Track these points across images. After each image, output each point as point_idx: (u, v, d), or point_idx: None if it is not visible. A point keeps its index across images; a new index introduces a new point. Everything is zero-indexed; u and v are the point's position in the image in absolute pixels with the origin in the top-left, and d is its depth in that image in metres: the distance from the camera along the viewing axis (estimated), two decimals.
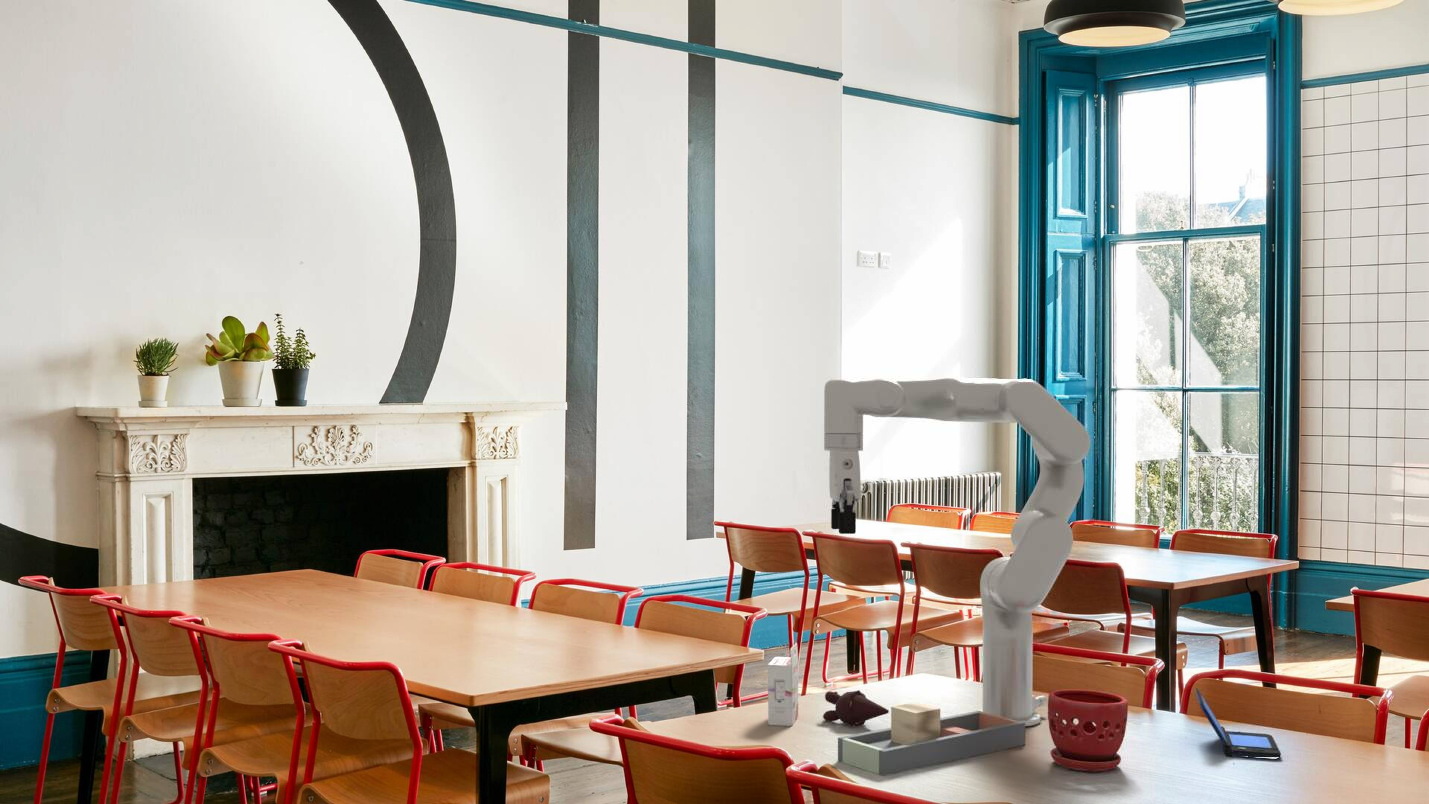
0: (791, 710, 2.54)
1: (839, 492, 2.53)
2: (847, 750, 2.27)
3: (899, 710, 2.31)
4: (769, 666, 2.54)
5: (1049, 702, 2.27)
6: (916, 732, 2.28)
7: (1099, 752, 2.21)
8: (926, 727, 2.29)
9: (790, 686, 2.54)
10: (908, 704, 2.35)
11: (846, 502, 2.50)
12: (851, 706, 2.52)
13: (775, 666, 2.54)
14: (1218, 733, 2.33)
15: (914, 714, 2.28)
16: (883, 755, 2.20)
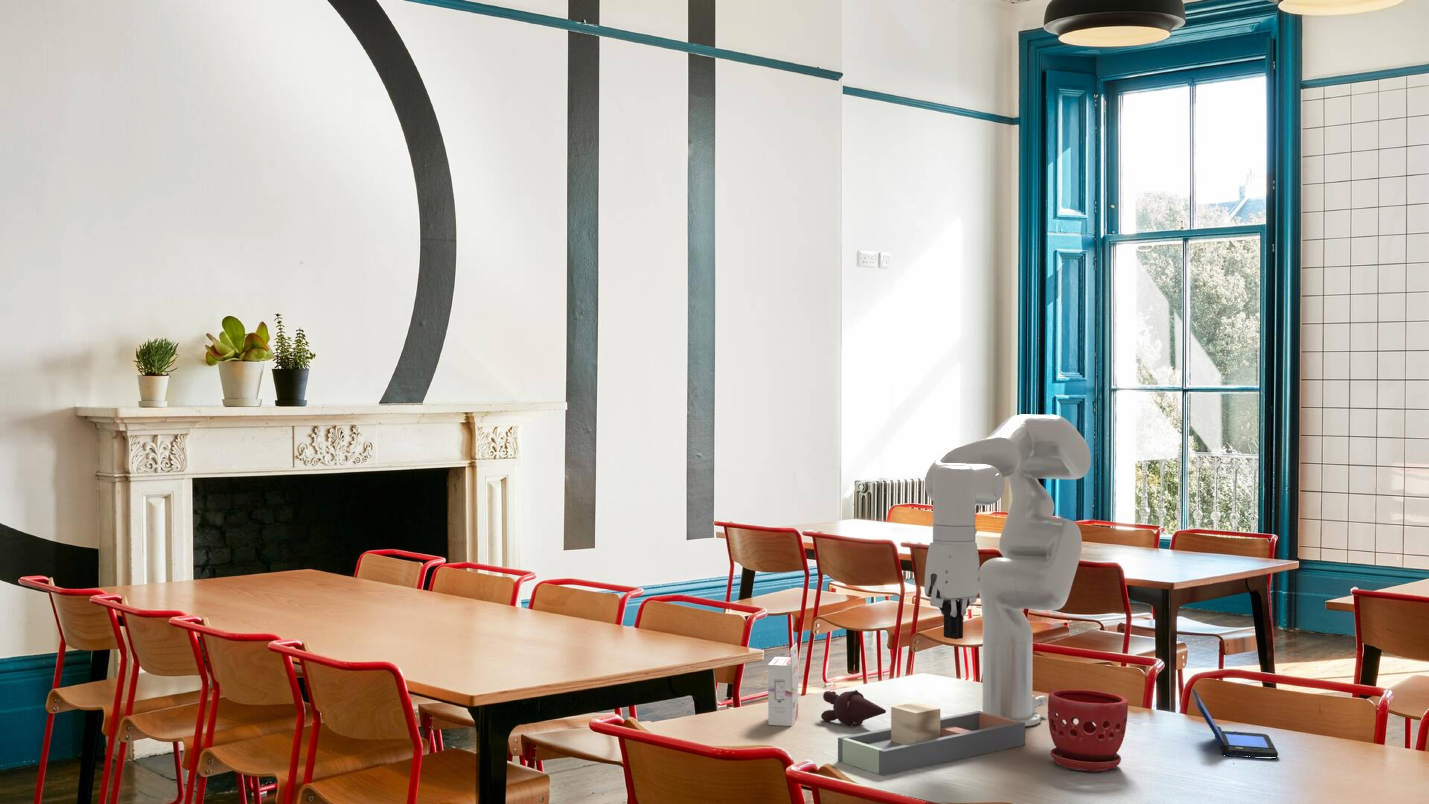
0: (791, 710, 2.54)
1: None
2: (847, 750, 2.27)
3: (899, 710, 2.31)
4: (769, 666, 2.54)
5: (1049, 702, 2.27)
6: (916, 732, 2.28)
7: (1099, 752, 2.21)
8: (926, 727, 2.29)
9: (790, 686, 2.54)
10: (908, 704, 2.35)
11: None
12: (848, 706, 2.52)
13: (775, 666, 2.54)
14: (1215, 733, 2.33)
15: (914, 714, 2.28)
16: (883, 755, 2.20)
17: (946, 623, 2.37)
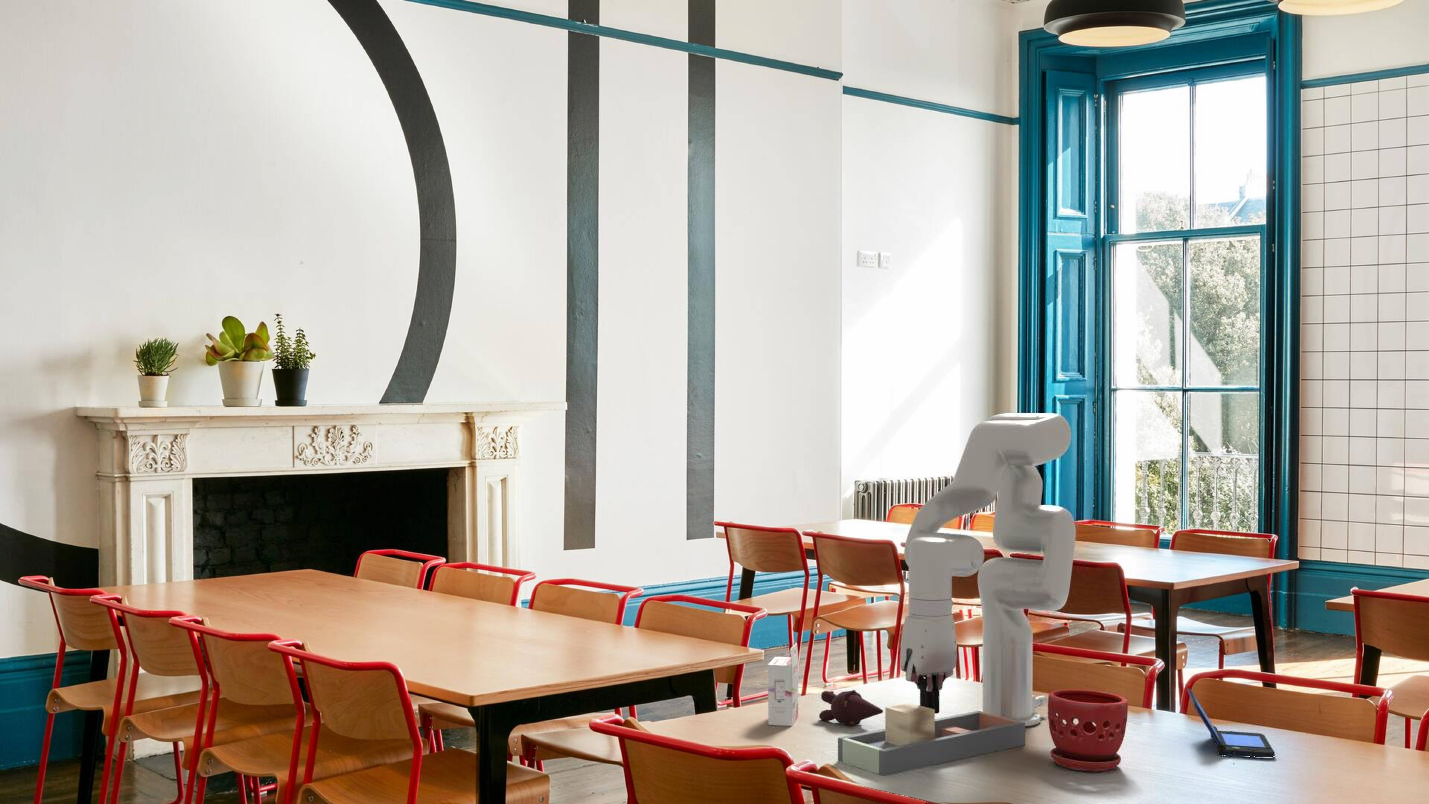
0: (791, 710, 2.54)
1: None
2: (847, 750, 2.27)
3: (893, 711, 2.30)
4: (769, 666, 2.54)
5: (1049, 702, 2.27)
6: (910, 733, 2.27)
7: (1099, 752, 2.21)
8: (920, 728, 2.29)
9: (790, 686, 2.54)
10: (903, 705, 2.34)
11: None
12: (845, 705, 2.53)
13: (775, 666, 2.54)
14: (1212, 733, 2.33)
15: (908, 715, 2.27)
16: (883, 755, 2.20)
17: (922, 698, 2.33)
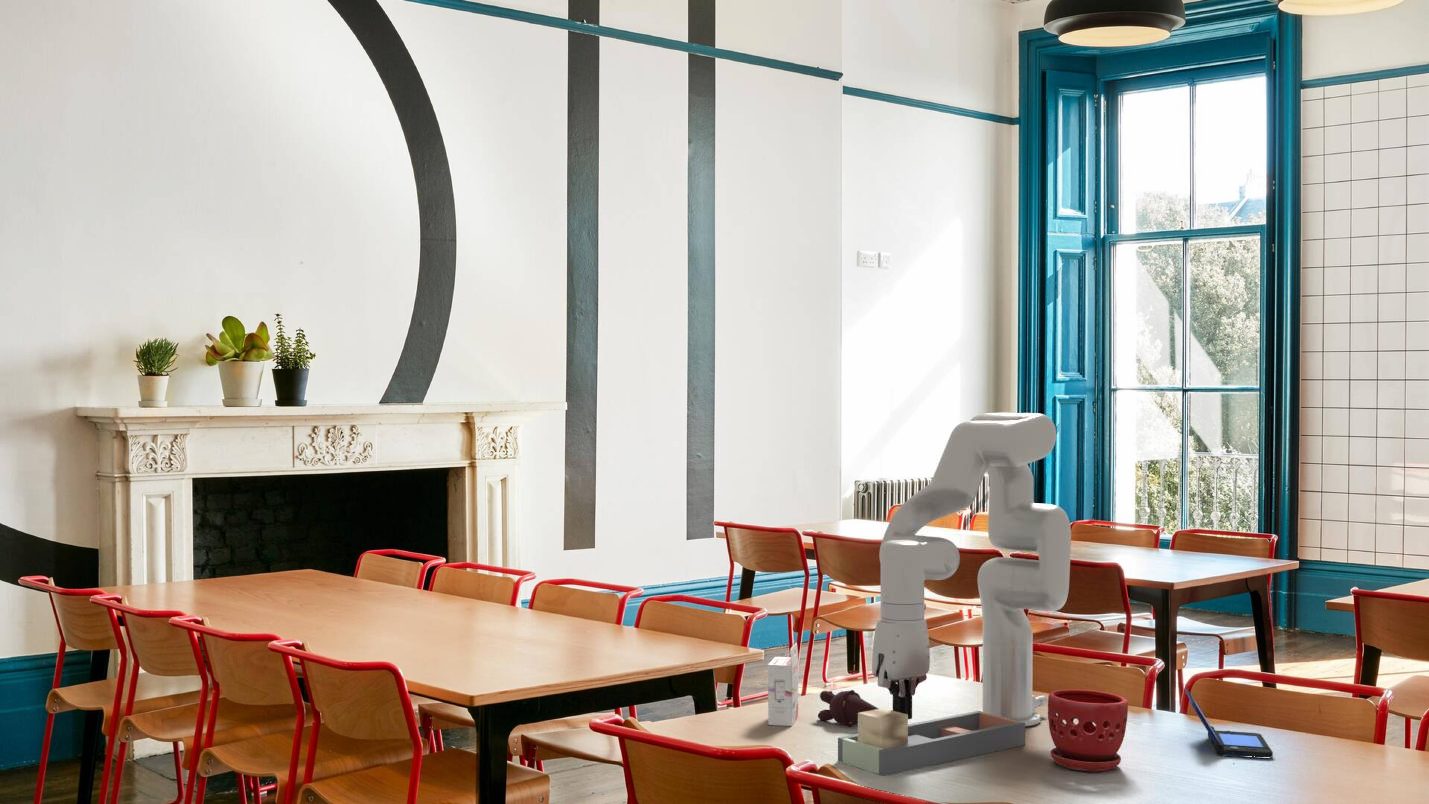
0: (791, 710, 2.54)
1: None
2: (847, 750, 2.27)
3: (866, 716, 2.26)
4: (769, 666, 2.54)
5: (1049, 702, 2.27)
6: (883, 738, 2.23)
7: (1099, 752, 2.21)
8: (893, 733, 2.25)
9: (790, 686, 2.54)
10: (875, 710, 2.30)
11: None
12: (844, 705, 2.53)
13: (775, 666, 2.54)
14: (1211, 733, 2.33)
15: (881, 720, 2.23)
16: (883, 755, 2.20)
17: (895, 703, 2.29)
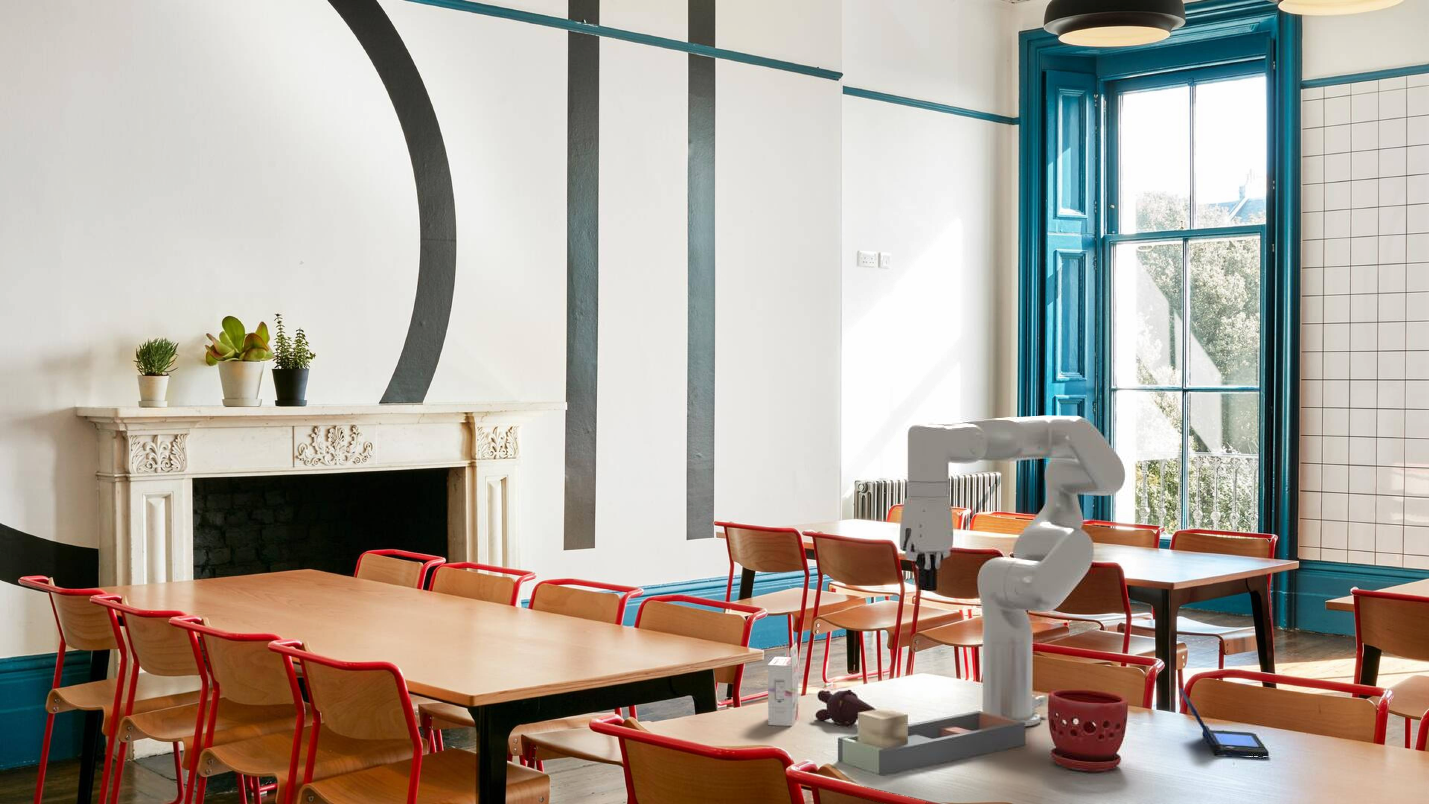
0: (791, 710, 2.54)
1: None
2: (847, 750, 2.27)
3: (866, 716, 2.26)
4: (769, 666, 2.54)
5: (1049, 702, 2.27)
6: (883, 738, 2.23)
7: (1099, 752, 2.21)
8: (893, 733, 2.25)
9: (790, 686, 2.54)
10: (875, 710, 2.30)
11: None
12: (840, 705, 2.53)
13: (775, 666, 2.54)
14: (1207, 733, 2.33)
15: (881, 720, 2.23)
16: (883, 755, 2.20)
17: (921, 576, 2.46)
